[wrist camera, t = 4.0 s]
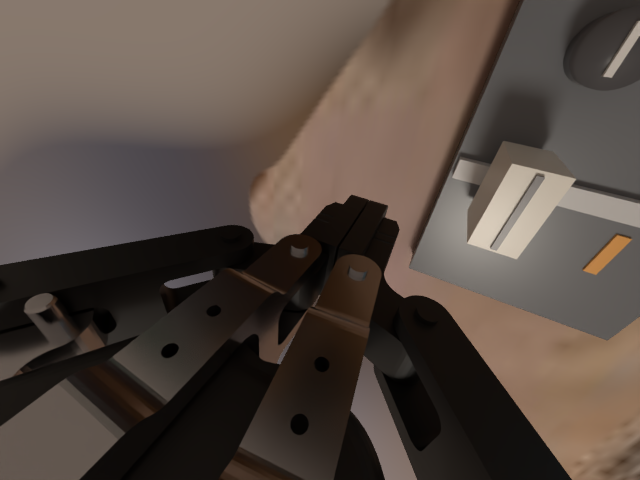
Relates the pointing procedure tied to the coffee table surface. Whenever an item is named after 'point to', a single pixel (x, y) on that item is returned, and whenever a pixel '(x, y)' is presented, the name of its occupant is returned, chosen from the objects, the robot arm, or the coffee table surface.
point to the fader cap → (516, 198)
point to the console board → (573, 150)
